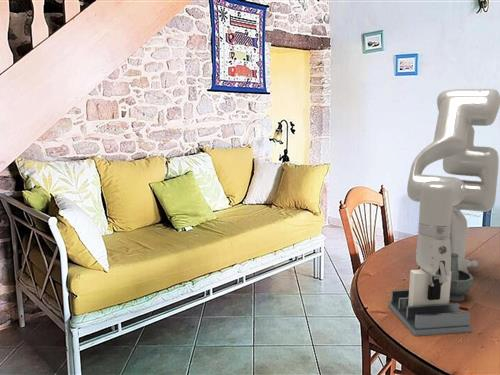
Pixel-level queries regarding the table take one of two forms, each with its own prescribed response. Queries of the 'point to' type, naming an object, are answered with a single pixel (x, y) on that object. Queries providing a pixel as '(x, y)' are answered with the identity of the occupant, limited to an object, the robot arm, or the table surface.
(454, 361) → the table surface
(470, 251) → the table surface
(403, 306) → the rack
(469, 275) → the mortar and pestle
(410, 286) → the white flat block
